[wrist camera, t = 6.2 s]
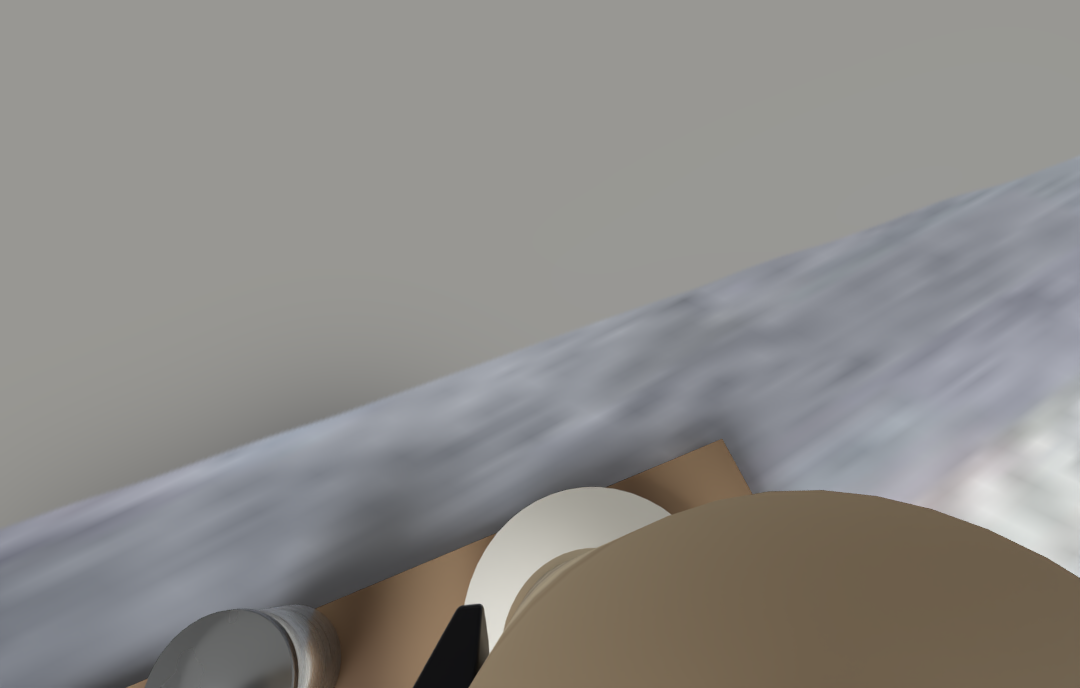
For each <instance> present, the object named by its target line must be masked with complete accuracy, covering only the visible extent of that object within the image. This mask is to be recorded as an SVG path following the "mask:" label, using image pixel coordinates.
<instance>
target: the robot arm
mask: <svg viewBox="0 0 1080 688" xmlns="http://www.w3.org/2000/svg"><path fill="white" fill-rule="evenodd" d="M488 656H489V640H488V633H487V625H486V618H485V611H484V607H483V605H482V604H469V605H461V606H459V607H458V608H457V609H456V611H455V613H454V614H453V616H452V618H451V620H450V622H449V623H448V625H447V627H446V629H445V631H444V632H443V634H442V636H441V638H440V639H439V641H438V643H437V645H436V647H435V648H434V650H433V652H432V654H431V656H430V657H429V659H428V661H427V663H426V665H425V666H424V668H423V670H422V672H421V673H420V675H419V677H418V679H417V681H416V682H415V684H414V686H413V688H469V686H470V685H471V683H472V681H473V680H474V678H475V676H476V675H477V673H478V672H479V670H480V668H481V667H482V665H483V664H484V662H485V660H486V659H487V657H488Z"/></svg>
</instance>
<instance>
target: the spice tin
mask: <svg viewBox="0 0 1080 688" xmlns="http://www.w3.org/2000/svg"><path fill="white" fill-rule="evenodd" d="M340 665H341V648H340V642H339V638H338V635H337V632H336V630H335V628H334V626H333V625H332V623H331V622H330V621H329V619H328V618H327V617H326V616H325V615H324V614H322V613H321V612H320V611H318V610H316V609H314V608H312V607H309V606H305V605H287V606H280V607H273V608H266V609H259V610H252V609H233V610H226V611H220V612H216V613H213V614H210V615H208V616H205V617H203V618H201V619H199V620H197V621H196V622H194V623H192V624H191V625H189V626H188V627H187V628H185V629H184V630H183V631H182V632H180V633H179V634H178V635H177V636H176V637H175V638H174V639H173V640H172V641H171V642H170V643H169V645H168V646H167V647H166V648H165V650H164V651H163V652H162V654H161V655H160V656H159V658H158V660H157V661H156V663H155V665H154V666H153V669H152V671H151V673H150V675H149V677H148V680H147V683H146V685H145V688H334V687H335V685H336V682H337V679H338V676H339V671H340Z"/></svg>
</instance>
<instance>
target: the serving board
mask: <svg viewBox="0 0 1080 688" xmlns="http://www.w3.org/2000/svg"><path fill="white" fill-rule="evenodd" d="M606 488H612V489H617V490H621V491H625V492H629V493H632V494H635V495H637V496H640V497H642V498H645V499H647V500H649V501H651V502H653V503H654V504H656V505H658V506H660V507H662V508H663V509H665V510H666V511H667V512H669V513H670V514H671V515H673V514H676V513H679V512H682V511H685V510H688V509H691V508H695V507H698V506H701V505H704V504H707V503H710V502H713V501H716V500H721V499H727V498H733V497H739V496H745V495H751V494H752V492H751V491H750V489H749V487H748V485H747V483H746V482H745V480H744V478H743V476H742V474H741V472H740V471H739V469H738V467H737V465H736V463H735V461H734V460H733V458H732V456H731V454H730V452H729V451H728V449H727V447H726V445H725V443H724V441H723V440H722V439H721V440H718V441H716V442H713V443H711V444H709V445H706V446H704V447H701V448H699V449H697V450H694V451H692V452H689V453H687V454H685V455H682V456H680V457H677V458H675V459H673V460H670V461H668V462H665V463H663V464H661V465H658V466H656V467H653V468H651V469H649V470H646V471H644V472H641V473H639V474H637V475H634V476H632V477H629V478H627V479H625V480H622V481H620V482H618V483H615V484H613V485H610V486H608V487H606ZM496 534H497V533H495V534H493V535H491V536H488V537H486V538H483V539H481V540H479V541H476V542H474V543H471V544H469V545H467V546H464V547H462V548H459V549H457V550H455V551H452V552H450V553H447V554H445V555H443V556H440V557H438V558H435V559H433V560H431V561H428V562H426V563H423V564H421V565H419V566H416V567H414V568H412V569H409V570H407V571H404V572H402V573H400V574H397V575H395V576H392V577H390V578H388V579H385V580H383V581H380V582H378V583H376V584H373V585H371V586H368V587H366V588H364V589H361V590H359V591H356V592H354V593H352V594H349V595H347V596H344V597H342V598H340V599H337V600H335V601H332V602H330V603H328V604H325V605H323V606H320V607H318V608H316V610H318V611H320V612H321V613H322V614H324V615H325V616H326V617H327V618H328V619H329V621H330V622H331V623H332V625H333V626H334V628H335V630H336V632H337V635H338V638H339V642H340V648H341V665H340V671H339V676H338V679H337V682H336V685H335V687H334V688H413V686H414V684H415V682H416V681H417V679H418V677H419V675H420V673H421V672H422V670H423V668H424V666H425V665H426V663H427V661H428V659H429V657H430V656H431V654H432V652H433V650H434V648H435V647H436V645H437V643H438V641H439V639H440V638H441V636H442V634H443V632H444V631H445V629H446V627H447V625H448V623H449V622H450V620H451V618H452V616H453V614H454V613H455V611H456V609H457V608H458V607H459V606H461V605H464V604H465V599H466V595H467V592H468V588H469V584H470V581H471V579H472V576H473V574H474V571H475V569H476V566H477V564H478V562H479V560H480V559H481V557H482V555H483V553H484V551H485V550H486V548H487V546H488V545H489V544H490V542H491V541H492V540H493V538H494V537H495V535H496ZM147 680H148V679H146V680H143V681H141V682H138V683H136V684H134V685H131V686H129V687H126V688H145V685H146V683H147Z"/></svg>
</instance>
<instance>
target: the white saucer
mask: <svg viewBox="0 0 1080 688" xmlns="http://www.w3.org/2000/svg"><path fill="white" fill-rule="evenodd" d="M669 515H671V514H670V513H669V512H667V511H666V510H665V509H663V508H662V507H660V506H658V505H656V504H654V503H653V502H651V501H649V500H647V499H645V498H642V497H640V496H637V495H635V494H632V493H629V492H625V491H621V490H617V489H612V488H603V487H581V488H575V489H568V490H564V491H561V492H557V493H554V494H551V495H549V496H546V497H544V498H542V499H540V500H537V501H536V502H534V503H532V504H531V505H529V506H527V507H526V508H524V509H523V510H521V511H520V512H519V513H518V514H516V515H515V516H514V517H513V518H512V519H510V520H509V521H508V522H507V523H506V524H505V525H504V526H503V528H502V529H501V530H500V531H499V532H498V533H497V534H496V535H495V537H494V538H493V540H492V541H491V542H490V544H489V545H488V546H487V548H486V550H485V551H484V553H483V555H482V557H481V559H480V560H479V562H478V564H477V566H476V569H475V571H474V574H473V576H472V579H471V581H470V584H469V588H468V592H467V595H466V599H465V604H464V605H469V604H482V605H483V607H484V611H485V618H486V625H487V633H488V640H489V654H490V652H491V651H492V649H493V647H494V646H495V644H496V643H497V641H498V639H499V638H500V636H501V635H502V633H503V630H504V626H505V622H506V619H507V616H508V613H509V610H510V608H511V606H512V604H513V602H514V600H515V598H516V596H517V594H518V593H519V591H520V590H521V588H522V587H523V585H524V584H525V583H526V581H527V580H528V579H529V578H530V577H531V576H532V575H533V574H534V573H535V572H536V571H537V570H538V569H539V568H540V567H542V566H543V565H544V564H546V563H547V562H549V561H550V560H552V559H554V558H556V557H558V556H560V555H562V554H564V553H567V552H571V551H574V550H578V549H584V548H597V547H599V546H602V545H604V544H606V543H608V542H611V541H613V540H615V539H617V538H620V537H622V536H624V535H626V534H629V533H631V532H633V531H635V530H638V529H640V528H642V527H644V526H647V525H649V524H651V523H653V522H656V521H658V520H660V519H662V518H665V517H667V516H669Z"/></svg>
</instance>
